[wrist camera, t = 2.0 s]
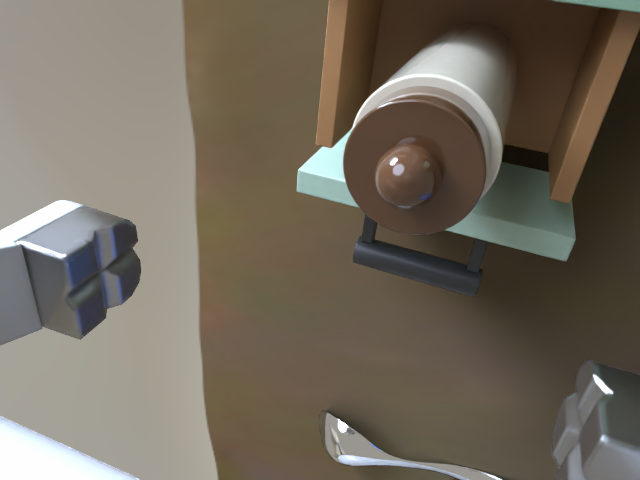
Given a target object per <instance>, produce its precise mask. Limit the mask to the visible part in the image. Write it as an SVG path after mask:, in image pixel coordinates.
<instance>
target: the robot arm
mask: <svg viewBox="0 0 640 480" xmlns="http://www.w3.org/2000/svg"><path fill="white" fill-rule="evenodd" d="M137 242H138V238H137V231H136V226H135V225H134V224H133V223H132V222H130V221H129V220H127V219H124V218H120V217H118V216H115V215H112V214H109V213H105V212H103V211H100V210H97V209H93V208H90V207H86V206H83V205H81V204H77V203H74V202H71V201H61V200H59V201H56V202H54V203H52V204H50V205H49V206H47V207H45V208H43V209H41V210H39V211H37V212H35V213H33V214H31V215H29V216H27V217H25V218H23V219H22V220H20V221H18V222H16V223H14V224H12V225H10V226H8V227H6V228H4V229H2V230H0V345H3V344H5V343H8V342H10V341H13V340H15V339H18V338H20V337H23V336H25V335H28V334H30V333H33V332H35V331H38V330H40V329H42V326H43V327H46V328H48V329H51V330H54V331H57V332H60V333H63V334H65V335H69V336H71V337H74V338H77V339H82V338H83V337H84V336H85V335H86V334H87V333H89V332H90V331H91V330H92V329H93V328H95V327H96V326H97V325H98V324H99V323H101V322H102V321H103V320H104V319H105V318H106V313H107V309H108V308H111V307H115V306H118V305H121V304H123V303H124V302H125V301H126V300H127V299H128V298H129V297H131V296H132V294H133V292H134V290H135V289H136V287H137V285H138V283H139V280H140V274H141V266H140V259H139V258H138V256H137V255H136V253H135V252H134V250H133V247H134V245H135V244H136V243H137ZM575 382H576V393H575V394H572V395H570V396H568V397H565V399H564V401H563V403H562V405H561V407H560V409H559V412H558V414H557V418H556V422H555V425H554V429H553V437H552V457H553V458H554V460H555V461H556V463H557V464H558V466H559V467H560V468H559V470H558V472H557V473H556V475H555V477H554V479H553V480H640V375H638V374H635V373H632V372H628V371H625V370H622V369H618V368H615V367H612V366H608V365H605V364H601V363H598V362H595V361H591V360H588V359H587V360H586V361H585V362H584V364H583V365H582V366H581V368H580V369H579V371H578V373H577V375H576V377H575ZM0 480H141V479H139V478H137V477H135V476H133V475H130V474H128V473H126V472H124V471H121V470H119V469H117V468H115V467H113V466H110V465H108V464H106V463H104V462H102V461H99V460H97V459H95V458H93V457H90V456H88V455H86V454H84V453H82V452H79V451H77V450H74V449H73V448H70V447H68V446H66V445H64V444H61V443H59V442H57V441H55V440H53V439H51V438H48V437H46V436H44V435H41V434H39V433H37V432H35V431H33V430H30V429H28V428H26V427H24V426H22V425H20V424H17V423H15V422H13V421H11V420H8V419H6V418H4V417H2V416H0Z"/></svg>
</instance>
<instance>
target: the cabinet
mask: <svg viewBox="0 0 640 480" xmlns="http://www.w3.org/2000/svg"><path fill="white" fill-rule="evenodd" d="M549 1H557V2H564V3H571V4H578V5H585V6H593V7H600V8H607V9H614V10H621V11H629V12H636V13H640V0H549Z"/></svg>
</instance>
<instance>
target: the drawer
mask: <svg viewBox="0 0 640 480" xmlns="http://www.w3.org/2000/svg"><path fill="white" fill-rule="evenodd" d="M471 21H475V22H482V23H487V24H489V25H492V26H494V27H496V28H497V29H499V30H500V31H502V32H503V33H504V34H505V35H506V36H507V37H508V38H509V40H510V41H511V42H512V44H513V46H514V48H515V50H516V53H517V57H518V63H519V71H518V79H517V84H516V89H515V94H514V99H513V104H512V109H511V115H510V120H509V125H508V130H507V135H506V140H505V144H506V145H511V146H516V147H520V148H525V149H530V150H535V151H539V152H544V153H549V172H545V171H541V170H536V169H532V168H527V167H523V166H518V165H514V164H509V163H504V162H501V165H500V169H499V172H498V174H497V177H496V179H495V181H494V183H493V185H492V186H491V188H490V189H489V190H488V192H487V193H486V194H485V195H484V196H483V197H482V198H481V199H480V200H479V201H478V203H477V204H476V206H475V207H474V208H473V210H472V211H471V212H470V213H469V214H468V215H467V216H466V217H465V218H464V219H463V220H461V221H460V222H459V223H457V224H456V225H454V226H452V227H450V228H448V229H446V231H450V232H454V233H458V234H462V235H465V236H469V237H473V238H475V241H474V244H473V247H472V250H471V254H470V257H469V260H468V264H467V265H466V264H462V263H459V262H455V261H451V260H448V259H444V258H440V257H437V256H433V255H430V254H426V253H422V252H419V251H415V250H411V249H408V248H404V247H400V246H397V245H393V244H389V243H386V242H382V241H379V240H375V234H376V228H377V223H376V222H375V221H373V220H372V219H371V218H369V217H368V216H367V215H366V214H365V220H364V226H363V232H362V236H360V237H359V239H358V241H357V243H356V246H355V249H354V254H353V262H354V263H357V264H360V265H364V266H367V267H371V268H374V269H378V270H381V271H385V272H388V273H391V274H395V275H398V276H402V277H405V278H409V279H412V280H416V281H419V282H423V283H426V284H429V285H433V286H436V287H440V288H443V289H447V290H450V291H454V292H457V293H460V294H464V295H467V296H471V297H475V296H476V294H477V291H478V288H479V284H480V281H481V277H482V272H483V269H480V266H481V263H482V259H483V256H484V253H485V250H486V247H487V244H488V242H492V243H496V244H500V245H504V246H508V247H512V248H515V249H519V250H523V251H527V252H531V253H535V254H538V255H542V256H546V257H550V258H554V259H558V260H561V261H567V259H568V257H569V254H570V252H571V250H572V247H573V245H574V243H575V240H576V235H575V225H574V216H573V206H572V196H573V194H574V191H575V189H576V186H577V184H578V182H579V179H580V177H581V174H582V172H583V169H584V167H585V164H586V162H587V159H588V157H589V154H590V152H591V149H592V147H593V144H594V142H595V139H596V137H597V134H598V132H599V129H600V127H601V124H602V122H603V119H604V117H605V114H606V112H607V109H608V107H609V104H610V102H611V99H612V97H613V94H614V92H615V89H616V87H617V84H618V82H619V79H620V77H621V74H622V72H623V69H624V67H625V64H626V62H627V59H628V57H629V55H630V52H631V50H632V47H633V45H634V42H635V40H636V37H637V35H638V32H639V30H640V13H636V12H629V11H621V10H614V9H607V8H600V7H593V6H585V5H578V4H571V3H564V2H557V1H549V0H329V9H328V20H327V30H326V41H325V52H324V62H323V73H322V84H321V95H320V105H319V116H318V127H317V137H316V145H319V146H323V147H322V148H321V149H320V150H319V151H318V152H317V153H315V154H314V155H313V156H312V157H311V158H310V159H309V160H308V161H307V162H306V163H305V164H304V165H303V166H302V167H300V168H299V170H298V178H297V192H300V193H304V194H308V195H312V196H316V197H320V198H323V199H327V200H331V201H335V202H339V203H343V204H346V205H350V206H354V207H358V208H359V206H358V205H357V204H356V202H355V201H354V199H353V198H352V196H351V194H350V192H349V190H348V187H347V184H346V181H345V177H344V172H343V155H344V150H345V145H346V143H347V140H348V137H349V135H350V133H351V131H352V126H353V123H354V121H355V118H356V116H357V114H358V112H359V110H360V108H361V107H362V105H363V104H364V102H365V101H366V100H367V99H368V98H369V97H370V96H371V95H372V94H373V93H374V92H375V91H376V90H377V89H378V88H379V87H380V86H382V85H383V84H384V83H385V82H386V81H387V80H388V79H389V78H390V77H392V76H393V75H394V74H395V73H396V72H397V71H398V70H399V69H400V68H402V67H403V66H404V65H405V64H406V63H407V62H408V61H409V60H410V59H412V58H413V57H414V56H415V55H416V54H417V53H418V52H419V51H420V50H422V49H423V48H424V47H425V46H426V45H427V44H428V43H429V42H430V41H432V40H433V39H434V38H435V37H436V36H437V35H438V34H440V33H441V32H442V31H444V30H445V29H447V28H449V27H451V26H453V25H455V24H458V23H463V22H471Z"/></svg>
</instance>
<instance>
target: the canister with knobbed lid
mask: <svg viewBox="0 0 640 480" xmlns="http://www.w3.org/2000/svg"><path fill="white" fill-rule="evenodd" d="M518 71H519V63H518V57H517V53H516V50H515V48H514V46H513V44H512V42H511V41H510V40H509V38H508V37H507V36H506V35H505V34H504V33H503V32H502V31H500V30H499V29H497V28H496V27H494V26H492V25H489V24H487V23H482V22H475V21H471V22H463V23H458V24H455V25H453V26H451V27H449V28H447V29H445V30H444V31H442V32H441V33H440V34H438V35H437V36H436V37H435V38H434V39H433V40H432V41H430V42H429V43H428V44H427V45H426V46H425V47H424V48H423V49H422V50H420V51H419V52H418V53H417V54H416V55H415V56H414V57H413V58H412V59H410V60H409V61H408V62H407V63H406V64H405V65H404V66H403V67H402V68H400V69H399V70H398V71H397V72H396V73H395V74H394V75H393V76H392V77H390V78H389V79H388V80H387V81H386V82H385V83H384V84H383V85H382V86H380V87H379V88H378V89H377V90H376V91H375V92H374V93H373V94H372V95H371V96H370V97H369V98H368V99H367V100H366V101H365V102H364V104H363V105H362V107H361V108H360V110H359V112H358V114H357V116H356V118H355V121H354V123H353V126H352V131H351V133H350V135H349V137H348V140H347V143H346V145H345V150H344V155H343V172H344V177H345V181H346V184H347V187H348V190H349V192H350V194H351V196H352V198H353V199H354V201H355V202H356V204H357V205H358V206H359V208H360V209H361V210H362V211H363V212H364V213H365V214H366V215H367V216H368V217H369V218H371V219H372V220H373V221H375V222H376V223H378V224H380V225H381V226H383V227H385V228H388V229H390V230H393V231H396V232H399V233H404V234H411V235H426V234H433V233H436V232H440V231H443V230H446V229H448V228H450V227H452V226H454V225H456V224H457V223H459V222H460V221H461V220H463V219H464V218H465V217H466V216H467V215H468V214H469V213H470V212H471V211H472V210H473V208H474V207H475V206H476V204H477V203H478V201H479V200H480V199H481V198H482V197H483V196H484V195H485V194H486V193H487V192H488V190H489V189H490V188H491V186H492V185H493V183H494V181H495V179H496V177H497V174H498V172H499V169H500V165H501V161H502V156H503V151H504V145H505V140H506V135H507V130H508V125H509V120H510V115H511V109H512V104H513V99H514V94H515V89H516V84H517V79H518Z"/></svg>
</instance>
